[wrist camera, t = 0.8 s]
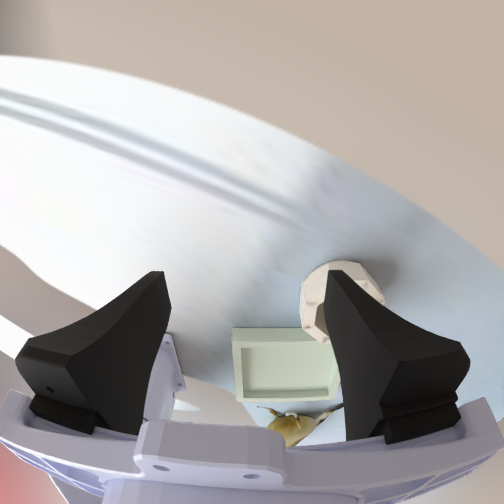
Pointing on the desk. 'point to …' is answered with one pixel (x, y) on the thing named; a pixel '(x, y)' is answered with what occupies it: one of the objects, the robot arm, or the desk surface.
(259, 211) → the desk surface
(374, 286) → the pin cup
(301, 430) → the decorative bird model
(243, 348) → the tray
